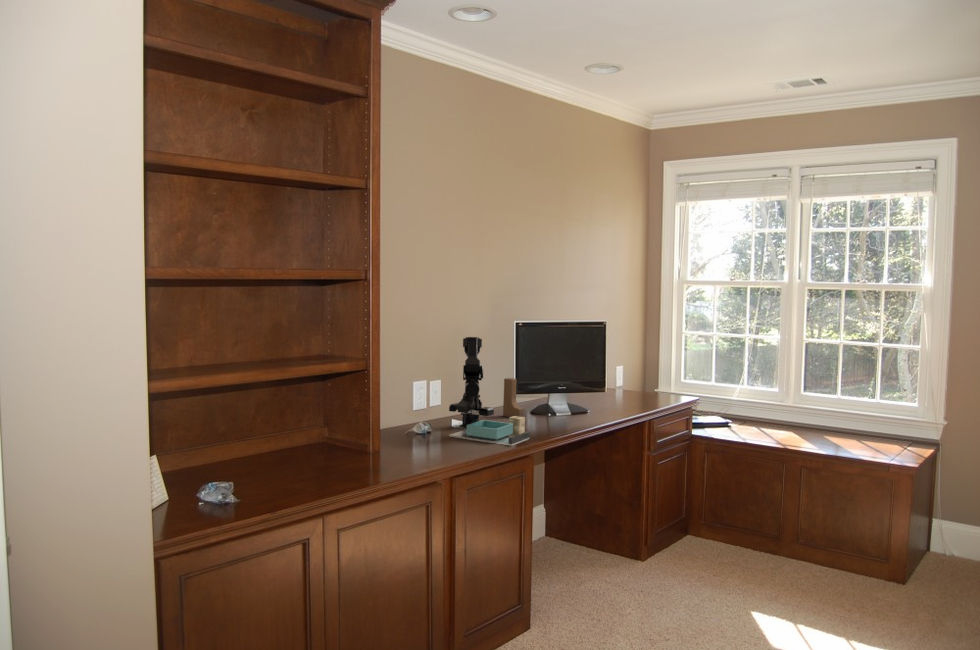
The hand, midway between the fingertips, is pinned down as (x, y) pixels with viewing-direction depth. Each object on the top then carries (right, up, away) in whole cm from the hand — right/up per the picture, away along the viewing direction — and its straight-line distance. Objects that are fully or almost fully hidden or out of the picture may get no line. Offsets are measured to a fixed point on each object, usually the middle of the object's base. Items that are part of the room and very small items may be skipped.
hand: (470, 430), depth 316 cm
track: (+8, -3, -4) cm, 9 cm away
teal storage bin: (+8, -3, -4) cm, 9 cm away
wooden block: (+19, 0, +44) cm, 48 cm away
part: (+19, -2, +6) cm, 20 cm away
